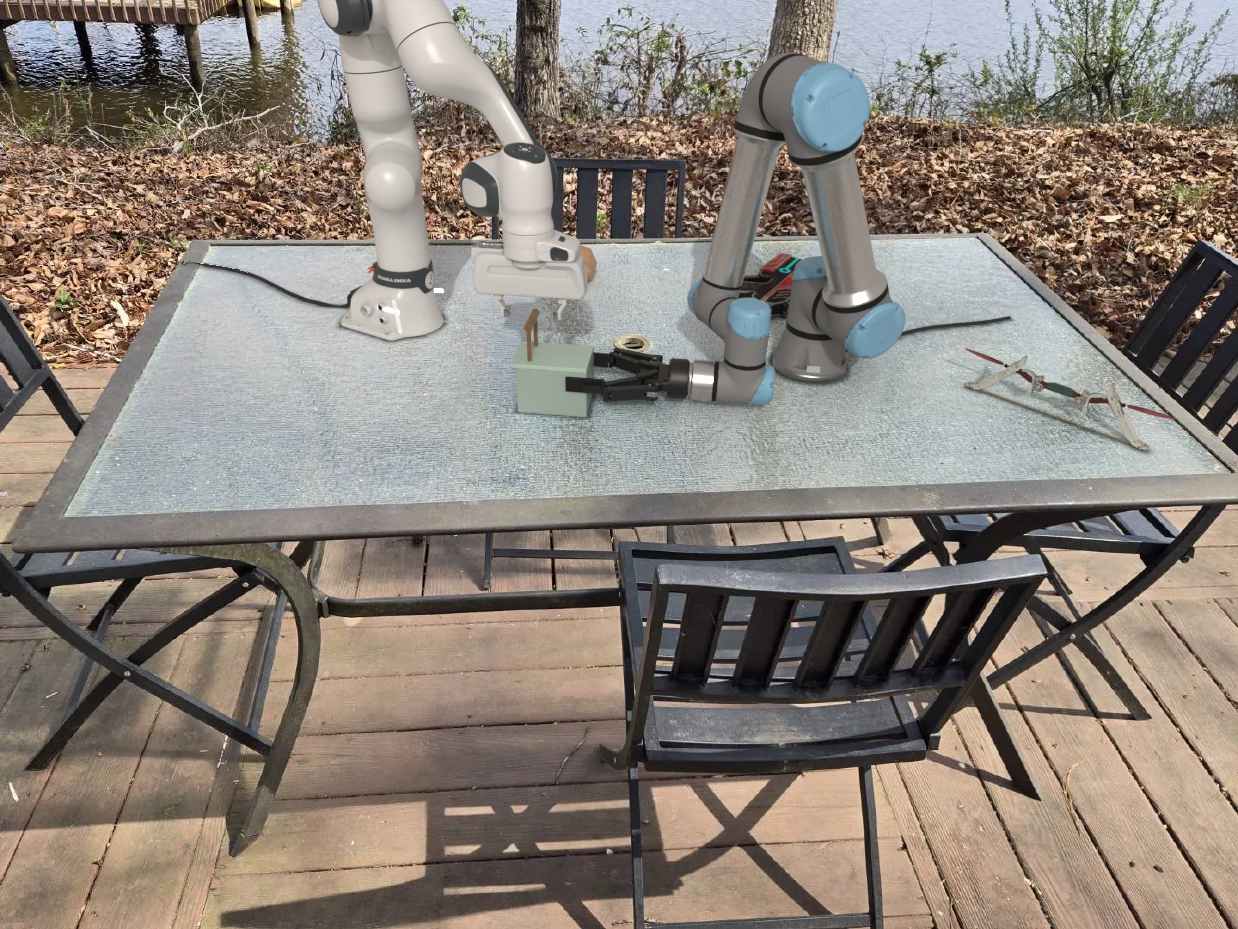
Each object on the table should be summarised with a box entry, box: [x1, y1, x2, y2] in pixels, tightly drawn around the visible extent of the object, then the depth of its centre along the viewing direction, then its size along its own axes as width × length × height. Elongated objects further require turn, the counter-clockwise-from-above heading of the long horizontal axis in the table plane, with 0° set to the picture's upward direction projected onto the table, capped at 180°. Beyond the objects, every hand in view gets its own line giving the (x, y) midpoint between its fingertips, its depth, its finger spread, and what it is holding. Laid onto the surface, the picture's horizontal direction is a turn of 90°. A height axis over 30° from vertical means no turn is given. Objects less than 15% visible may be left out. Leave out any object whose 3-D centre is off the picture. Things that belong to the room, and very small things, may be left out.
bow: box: [964, 347, 1177, 451], centre depth 165 cm, size 39×2×10 cm, turn 47°
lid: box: [510, 307, 595, 373], centre depth 161 cm, size 14×10×8 cm
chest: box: [515, 350, 595, 418], centre depth 166 cm, size 13×10×9 cm
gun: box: [738, 252, 802, 318], centre depth 215 cm, size 4×31×19 cm
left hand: (531, 317), depth 159 cm, fingers open, 8 cm apart
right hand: (570, 370), depth 164 cm, fingers closed on chest, 10 cm apart
